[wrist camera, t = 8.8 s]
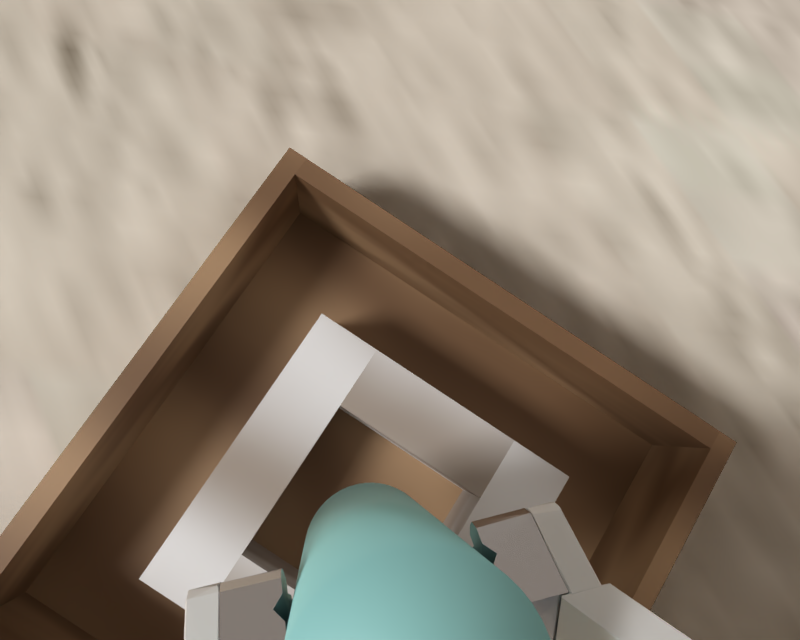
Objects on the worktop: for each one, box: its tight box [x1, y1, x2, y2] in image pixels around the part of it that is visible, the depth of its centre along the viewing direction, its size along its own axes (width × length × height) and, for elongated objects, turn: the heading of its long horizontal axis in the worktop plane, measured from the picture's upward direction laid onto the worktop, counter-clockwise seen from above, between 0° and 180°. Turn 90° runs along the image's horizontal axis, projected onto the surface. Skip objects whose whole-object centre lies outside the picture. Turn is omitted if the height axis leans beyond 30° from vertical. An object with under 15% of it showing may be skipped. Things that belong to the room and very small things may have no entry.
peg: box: [285, 483, 551, 640], centre depth 12 cm, size 3×3×9 cm
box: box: [0, 148, 737, 640], centre depth 20 cm, size 16×16×4 cm
